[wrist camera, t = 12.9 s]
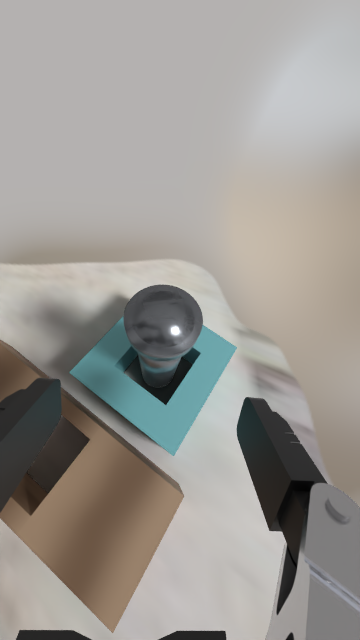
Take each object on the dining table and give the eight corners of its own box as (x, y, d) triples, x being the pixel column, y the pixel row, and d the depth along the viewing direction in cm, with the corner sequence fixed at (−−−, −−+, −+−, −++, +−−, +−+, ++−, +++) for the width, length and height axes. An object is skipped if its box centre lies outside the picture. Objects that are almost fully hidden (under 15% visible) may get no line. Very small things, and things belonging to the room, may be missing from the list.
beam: (-64, 409, 18) (-110, 406, 15) (10, 345, 21) (-14, 331, 18) (121, 589, 15) (112, 633, 12) (178, 483, 18) (184, 496, 15)
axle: (129, 375, 21) (106, 323, 10) (154, 344, 23) (156, 272, 12) (162, 400, 20) (173, 372, 10) (185, 366, 22) (216, 311, 11)
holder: (83, 381, 20) (69, 372, 17) (149, 309, 24) (148, 289, 21) (169, 450, 19) (173, 456, 15) (223, 359, 23) (237, 347, 19)
